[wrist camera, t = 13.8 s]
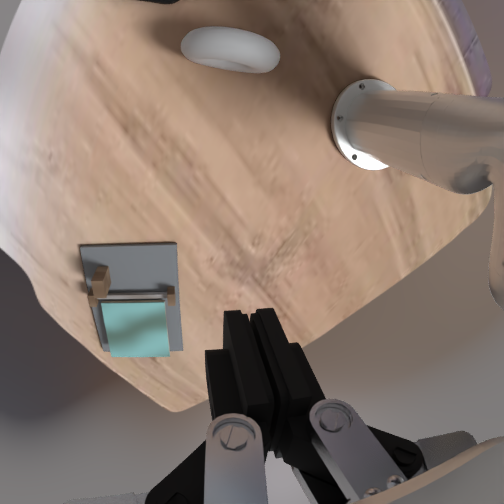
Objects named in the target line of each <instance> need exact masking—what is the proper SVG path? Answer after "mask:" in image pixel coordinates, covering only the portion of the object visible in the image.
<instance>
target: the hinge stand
mask: <svg viewBox="0 0 504 504" xmlns="http://www.w3.org/2000/svg"><path fill="white" fill-rule="evenodd" d="M91 284H92V288H91V289H90V291H89V293H88V300H89V305H90V307H97V305H98V302H99V299H153V298H167V300H168V306H176V297H175V286H171V287H167V292H144V293H108V291H109V288H110V285H111V278H110V272H109V266H98V267H97V269H96V271H95V273H94V275H93V278H92V280H91Z"/></svg>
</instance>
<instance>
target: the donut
mask: <svg viewBox="0 0 504 504" xmlns="http://www.w3.org/2000/svg"><path fill="white" fill-rule="evenodd" d="M181 51H182V53H183V54H184V56H185V57H186V58H187V59H189V60H190V61H192V62H195V63H198V64H201V65H205V66H210V67H214V68H219V69H225V70H231V71H238V72H247V73H265V72H269V71H271V70H273V69H274V68H275V67H276V66H277V64H278V63H279V60H280V52H279V50H278V48H277V47H276V46H275V44H274V43H273V42H272V41H270V40H268V39H267V38H265V37H263V36H261V35H258V34H256V33H253V32H250V31H246V30H242V29H237V28H230V27H219V26H210V27H201V28H197V29H194V30H192V31H190V32H188V34H187V35H186V36H185V37H184V38H183V40H182V42H181Z"/></svg>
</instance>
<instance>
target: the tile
mask: <svg viewBox="0 0 504 504" xmlns="http://www.w3.org/2000/svg"><path fill="white" fill-rule="evenodd" d="M101 306H102V312H103V317H104V323H105V328H106V333H107V338H108V343H109V347H110V352H111V356H112V357H169V356H170V349H169V340H168V331H167V320H166V309H165V300H133V301H102V303H101Z"/></svg>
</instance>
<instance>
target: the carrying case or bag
mask: <svg viewBox="0 0 504 504" xmlns="http://www.w3.org/2000/svg"><path fill="white" fill-rule="evenodd" d="M140 1H148V2H154V3H160V4H172V3H175V2H178V1H179V0H140Z"/></svg>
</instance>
